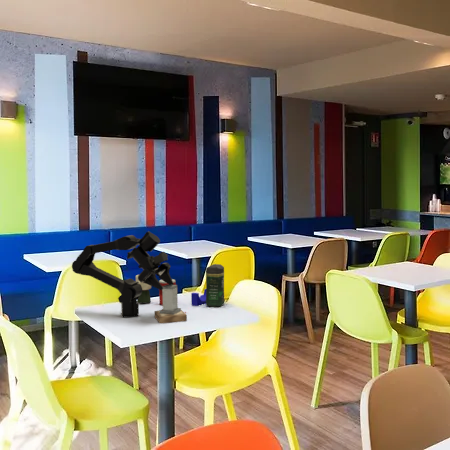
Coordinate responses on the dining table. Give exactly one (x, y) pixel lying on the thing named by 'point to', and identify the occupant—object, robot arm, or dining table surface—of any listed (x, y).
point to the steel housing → (170, 300)
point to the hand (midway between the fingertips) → (167, 287)
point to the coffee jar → (215, 285)
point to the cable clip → (198, 299)
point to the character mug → (144, 292)
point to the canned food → (161, 290)
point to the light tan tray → (170, 317)
